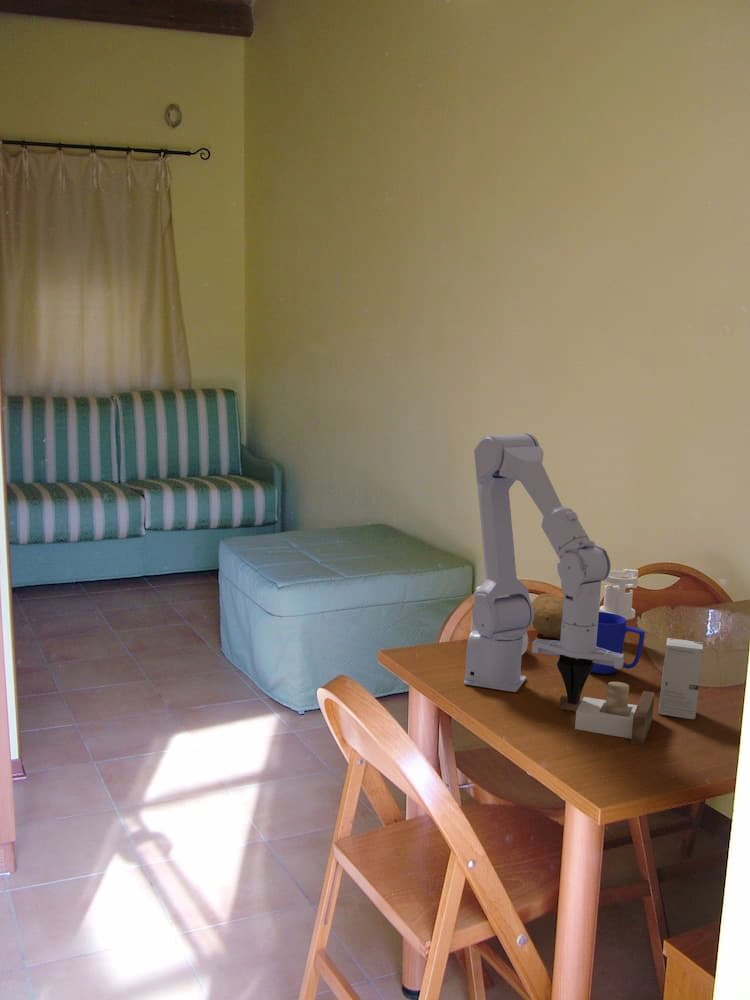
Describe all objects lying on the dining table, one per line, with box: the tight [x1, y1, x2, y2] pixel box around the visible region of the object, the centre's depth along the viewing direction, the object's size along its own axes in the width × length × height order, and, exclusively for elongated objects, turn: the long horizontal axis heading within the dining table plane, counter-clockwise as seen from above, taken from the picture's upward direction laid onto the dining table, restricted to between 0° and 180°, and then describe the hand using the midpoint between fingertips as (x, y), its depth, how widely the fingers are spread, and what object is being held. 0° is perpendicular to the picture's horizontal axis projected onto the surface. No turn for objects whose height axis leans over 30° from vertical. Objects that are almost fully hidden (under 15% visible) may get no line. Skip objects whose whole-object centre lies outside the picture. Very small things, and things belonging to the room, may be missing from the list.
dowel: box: [605, 681, 630, 717], centre depth 166 cm, size 3×3×6 cm
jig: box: [559, 690, 656, 747], centre depth 167 cm, size 15×12×4 cm
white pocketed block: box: [574, 696, 638, 740], centre depth 167 cm, size 9×7×3 cm
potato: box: [531, 593, 563, 640], centre depth 213 cm, size 10×14×8 cm
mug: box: [590, 612, 646, 675], centre depth 192 cm, size 8×12×10 cm
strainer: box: [599, 568, 639, 621], centre depth 211 cm, size 7×7×15 cm
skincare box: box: [658, 637, 705, 720], centre depth 173 cm, size 6×4×12 cm
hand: (573, 702), depth 170 cm, fingers closed
